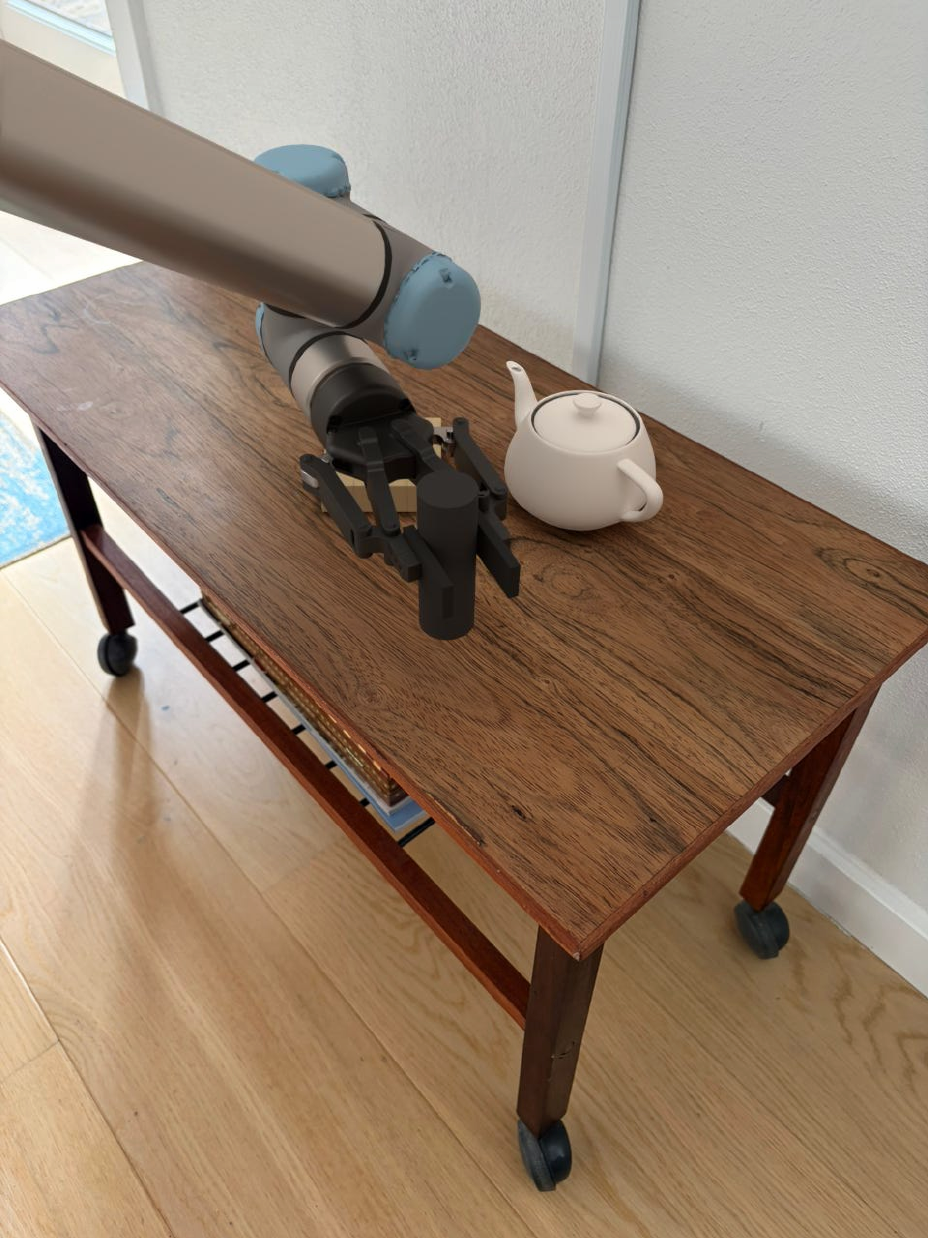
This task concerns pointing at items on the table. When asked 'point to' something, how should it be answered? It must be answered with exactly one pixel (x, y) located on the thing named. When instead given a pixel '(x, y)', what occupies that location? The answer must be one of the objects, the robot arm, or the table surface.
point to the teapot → (580, 458)
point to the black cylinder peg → (449, 547)
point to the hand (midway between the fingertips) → (481, 591)
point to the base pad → (400, 489)
